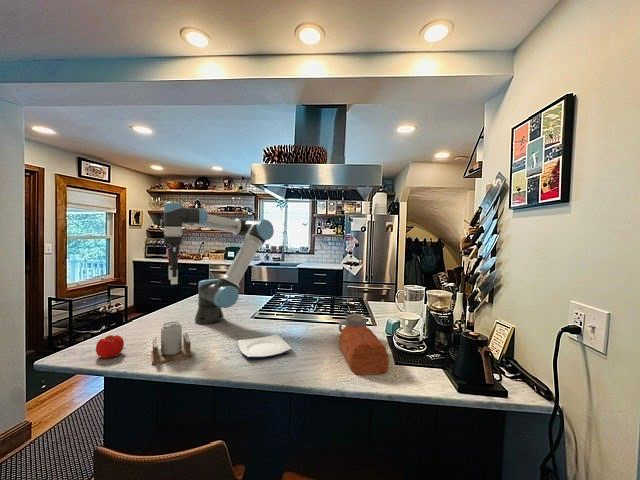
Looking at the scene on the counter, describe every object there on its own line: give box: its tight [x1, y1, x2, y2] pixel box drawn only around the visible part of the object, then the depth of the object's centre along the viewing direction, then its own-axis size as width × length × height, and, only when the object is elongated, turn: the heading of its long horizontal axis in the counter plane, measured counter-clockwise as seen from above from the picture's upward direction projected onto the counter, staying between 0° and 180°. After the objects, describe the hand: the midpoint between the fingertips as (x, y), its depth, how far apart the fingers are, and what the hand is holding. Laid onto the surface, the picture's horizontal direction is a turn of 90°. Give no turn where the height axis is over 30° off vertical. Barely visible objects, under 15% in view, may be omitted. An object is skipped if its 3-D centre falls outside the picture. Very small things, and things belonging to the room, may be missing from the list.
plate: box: [237, 333, 293, 360], centre depth 128 cm, size 20×20×3 cm
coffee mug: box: [338, 313, 367, 333], centre depth 144 cm, size 13×10×10 cm
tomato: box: [95, 334, 125, 359], centre depth 119 cm, size 9×9×8 cm
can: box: [160, 321, 183, 356], centre depth 120 cm, size 8×8×12 cm
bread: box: [338, 326, 390, 376], centre depth 121 cm, size 16×27×11 cm, turn 7°
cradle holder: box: [150, 332, 193, 366], centre depth 120 cm, size 14×12×7 cm
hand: (172, 281), depth 137 cm, fingers open, 13 cm apart
